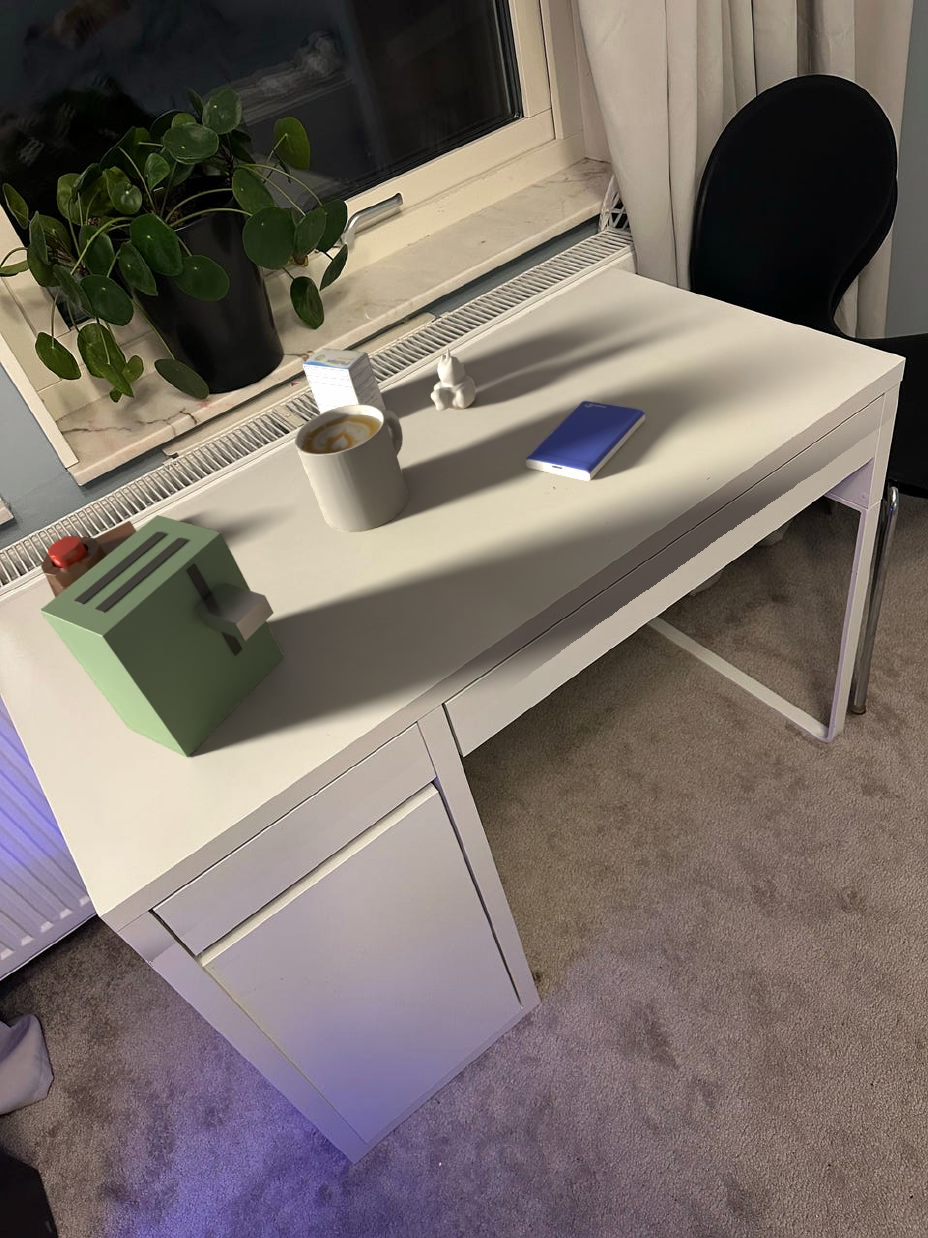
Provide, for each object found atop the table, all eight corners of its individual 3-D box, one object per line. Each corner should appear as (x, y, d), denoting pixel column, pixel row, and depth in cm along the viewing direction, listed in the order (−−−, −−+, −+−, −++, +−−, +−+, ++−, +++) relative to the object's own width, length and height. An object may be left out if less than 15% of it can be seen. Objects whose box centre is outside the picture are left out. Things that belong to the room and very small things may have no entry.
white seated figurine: (489, 400, 108) (476, 341, 102) (454, 426, 105) (439, 367, 99) (458, 392, 111) (445, 334, 106) (424, 417, 108) (408, 359, 103)
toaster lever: (245, 641, 68) (236, 623, 66) (204, 626, 70) (194, 608, 69) (274, 612, 70) (265, 595, 68) (232, 599, 72) (223, 581, 71)
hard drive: (581, 399, 100) (525, 456, 93) (644, 409, 95) (589, 469, 89) (583, 411, 101) (527, 468, 95) (645, 421, 96) (590, 482, 90)
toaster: (189, 758, 73) (103, 636, 63) (128, 728, 77) (38, 609, 67) (286, 656, 80) (222, 532, 70) (224, 634, 84) (156, 514, 74)
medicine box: (387, 412, 111) (369, 351, 105) (367, 430, 109) (347, 368, 103) (342, 405, 115) (322, 346, 109) (322, 422, 113) (300, 363, 107)
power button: (59, 572, 92) (51, 560, 91) (53, 558, 95) (44, 546, 94) (90, 557, 93) (82, 544, 92) (83, 543, 96) (75, 531, 95)
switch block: (67, 616, 92) (47, 589, 90) (51, 579, 99) (32, 552, 96) (159, 567, 96) (143, 540, 93) (138, 534, 102) (122, 508, 99)
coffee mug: (361, 542, 91) (332, 464, 84) (307, 516, 97) (276, 441, 90) (447, 477, 97) (426, 399, 90) (390, 456, 103) (367, 382, 96)
